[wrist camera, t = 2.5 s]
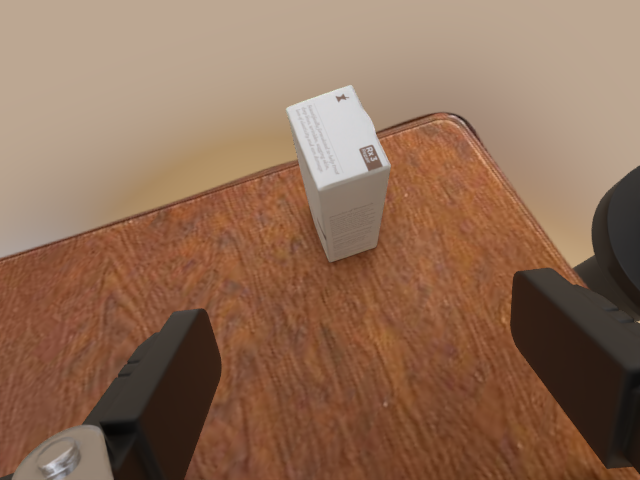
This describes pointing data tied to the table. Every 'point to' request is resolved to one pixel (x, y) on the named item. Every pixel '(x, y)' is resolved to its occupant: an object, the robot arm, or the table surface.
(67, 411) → the table surface
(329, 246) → the cosmetic box
